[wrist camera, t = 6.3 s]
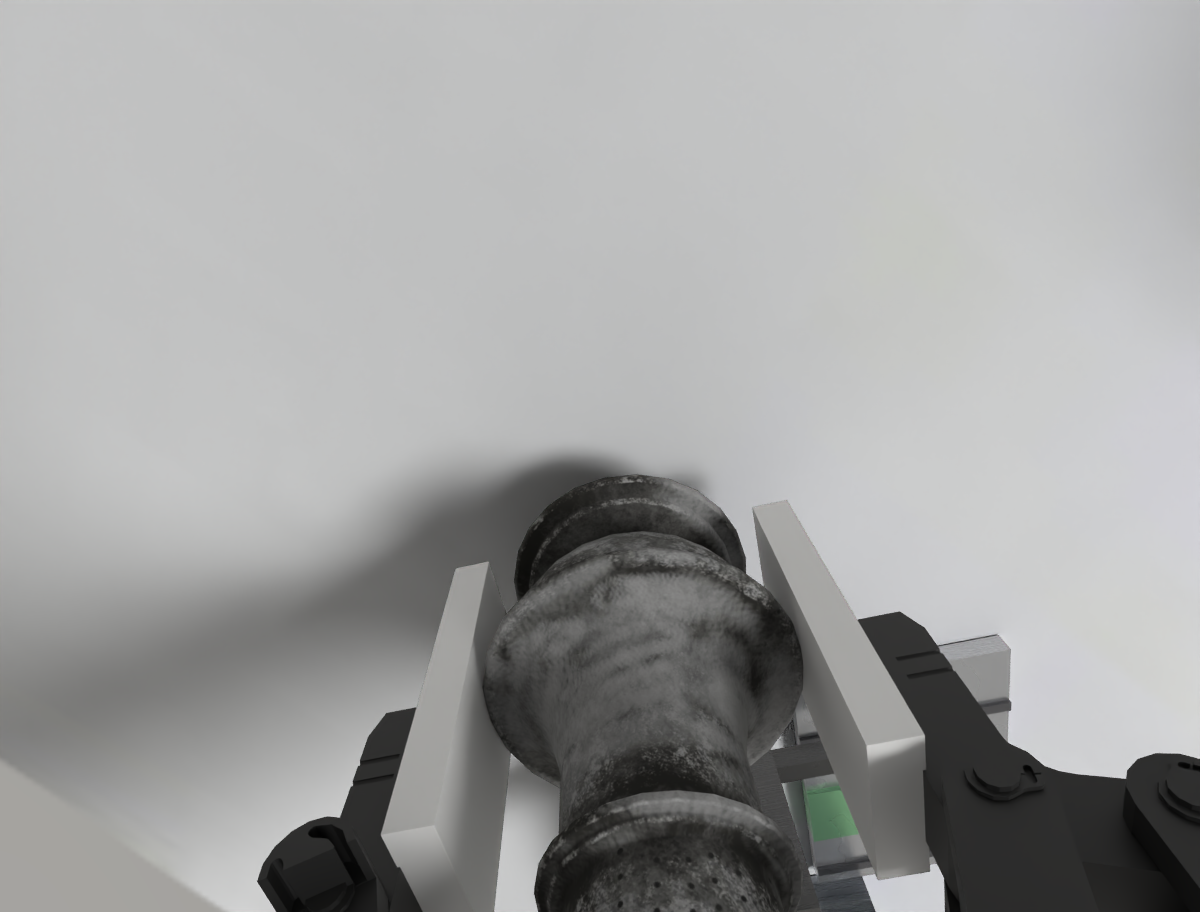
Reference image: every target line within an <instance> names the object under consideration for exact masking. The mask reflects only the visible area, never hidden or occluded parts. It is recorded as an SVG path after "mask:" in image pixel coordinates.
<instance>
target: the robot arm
mask: <svg viewBox="0 0 1200 912" xmlns="http://www.w3.org/2000/svg"><path fill="white" fill-rule="evenodd" d="M752 509H753V516H754V523H755V530H756V536H757V543H758V550H759V557H760V564H761V570H762V577H763V584H764V587H765V588H766V589H767V590H769V591H770V592H771V593H772V595H773V596H774V597H775V599H776V600H777V601H778V603H779V604H780V605H781V607H782V608H783V610H784V611H785V612H786V614H787V615H788V616H789V618H790V619H791V620H792V622H793V625H794V628H795V631H796V634H797V637H798V640H799V644H800V647H801V652H802V658H803V690H802V692H801V693H802V695H803V698H804V700H805V703H806V705H807V707H808V710H809V712H810V715H811V717H812V720H813V722H814V725H815V727H816V730H817V732H818V734H819V737H820V739H821V742H822V744H823V747H824V749H825V752H826V754H827V757H828V759H829V761H830V764H831V766H832V769H833V771H834V774H835V776H836V779H837V781H838V784H839V786H840V788H841V791H842V793H843V796H844V798H845V801H846V803H847V806H848V808H849V811H850V813H851V815H852V818H853V820H854V823H855V825H856V828H857V830H858V833H859V835H860V838H861V840H862V842H863V845H864V847H865V850H866V852H867V855H868V857H869V860H870V862H871V865H872V867H873V869H874V872H875V874H876V877H877V879H878V880H883V879H889V878H895V877H901V876H906V875H912V874H918V873H924V872H930V859H929V849H930V851H931V853H932V855H933V857H934V859H935V861H936V863H937V865H938V867H939V869H940V871H941V873H942V875H943V877H944V890H945V912H1200V759H1197V758H1194V757H1190V756H1186V755H1182V754H1162V753H1155V754H1152V755H1149V756H1146V757H1143V758H1140V759H1137V760H1136V762H1135V763H1134V764H1133V765H1132V766H1131V767H1130V768H1129V769H1128V770H1127V777H1126V779H1121V778H1110V777H1099V776H1089V775H1078V774H1072V773H1067V772H1061V771H1057V770H1054V769H1051V768H1048V767H1045V766H1044V765H1043V764H1041V763H1040V762H1039V761H1038V760H1036V759H1035V758H1034V757H1033V756H1032V755H1030V754H1029V753H1028V752H1026V751H1024V750H1022V749H1020V748H1018V747H1015V746H1013V745H1011V744H1009V743H1008V742H1007V741H1006V740H1005V739H1004V738H1003V737H1002V735H1001V734H1000V733H999V731H998V730H997V728H996V727H995V726H994V724H993V723H992V721H991V720H990V719H989V717H988V716H987V714H986V713H985V712H984V710H983V709H982V707H981V706H980V705H979V703H978V702H977V700H976V699H975V698H974V696H973V695H972V693H971V692H970V691H969V689H968V688H967V686H966V685H965V684H964V682H963V681H962V679H961V678H960V677H959V675H958V674H957V672H956V671H953V668H952V665H951V664H950V663H949V661H948V660H947V658H946V657H945V656H944V654H943V653H941V652H940V649H939V647H938V646H937V645H936V643H935V642H934V640H933V639H932V638H931V636H930V635H929V633H928V632H927V631H926V629H925V628H924V627H923V626H921V625H920V624H918V623H917V622H915V621H913V620H912V619H910V618H909V617H907V616H906V615H904V614H903V613H901V612H895V613H890V614H884V615H879V616H874V617H869V618H864V619H859V620H857V619H856V617H855V615H854V613H853V612H852V610H851V608H850V607H849V605H848V603H847V601H846V600H845V598H844V596H843V595H842V593H841V591H840V590H839V588H838V586H837V584H836V583H835V581H834V579H833V578H832V576H831V574H830V572H829V571H828V569H827V567H826V566H825V564H824V562H823V561H822V559H821V557H820V555H819V554H818V552H817V550H816V549H815V547H814V545H813V543H812V542H811V540H810V538H809V537H808V535H807V533H806V532H805V530H804V528H803V526H802V525H801V523H800V521H799V520H798V518H797V516H796V514H795V513H794V511H793V509H792V508H791V506H790V504H789V503H788V501H787V500H785V501H780V502H775V503H770V504H765V505H760V506H755V507H752ZM505 615H506V611H505V608H504V605H503V602H502V599H501V596H500V593H499V590H498V587H497V584H496V581H495V578H494V575H493V572H492V569H491V566H490V563H489V562H484V563H479V564H474V565H469V566H464V567H460V568H456V569H455V573H454V576H453V580H452V584H451V587H450V591H449V594H448V598H447V601H446V605H445V608H444V612H443V616H442V619H441V623H440V626H439V630H438V633H437V637H436V640H435V644H434V648H433V651H432V655H431V658H430V662H429V665H428V669H427V672H426V676H425V680H424V683H423V687H422V690H421V694H420V697H419V701H418V704H417V707H416V708H411V709H406V710H400V711H395V712H390V713H386V714H385V716H384V717H383V718H382V720H381V721H380V722H379V724H378V725H377V726H376V727H375V729H374V730H373V731H372V733H371V734H370V735H369V737H368V739H367V742H366V745H365V748H364V751H363V754H362V756H361V759H360V766H358V768H357V771H356V774H355V776H354V779H353V786H352V787H351V788H350V791H349V794H348V797H347V799H346V802H345V805H344V808H343V811H342V814H341V817H340V818H337V817H324V818H320V819H316V820H313V821H309V822H308V823H306V824H304V825H302V826H301V827H299V828H297V829H295V830H294V831H292V832H291V833H290V834H288V835H287V836H286V837H285V838H284V839H283V840H282V841H281V842H280V843H279V844H277V845H276V846H275V848H274V849H273V850H272V852H271V853H270V855H269V856H268V858H267V859H266V860H265V862H264V863H263V866H262V869H261V872H260V874H259V877H258V880H257V882H258V884H259V885H260V887H261V888H262V890H263V892H264V893H265V895H266V896H267V898H268V899H269V901H270V902H271V904H272V906H273V907H274V909H275V910H276V912H494V906H495V896H496V887H497V878H498V868H499V859H500V849H501V840H502V831H503V821H504V812H505V803H506V793H507V784H508V774H509V765H510V756H511V752H510V751H509V750H507V749H506V747H505V746H504V744H503V742H502V740H501V739H500V737H499V735H498V734H497V732H496V730H495V728H494V726H493V724H492V722H491V720H490V716H489V713H488V710H487V707H486V702H485V697H484V692H483V688H482V687H483V680H484V672H485V664H486V656H487V650H488V648H489V646H490V644H491V642H492V640H493V638H494V636H495V634H496V632H497V629H498V627H499V625H500V623H501V621H502V619H503V617H504V616H505Z"/></svg>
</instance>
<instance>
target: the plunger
mask: <svg viewBox="0 0 1200 912" xmlns="http://www.w3.org/2000/svg"><path fill="white" fill-rule="evenodd" d="M750 768H751V772H752V775H753V779H754V783H755V786H756V790H757V793H758V797H759V801H760V804H761V808H762V811H763V815H765V816H767V817H768V818H770V819H772V820H773V821H774V822H775V823H776V824H777V825H778V826H779V827H780V828H781V829H782V830H783V832H784V833H785V834H786V835H787V836H788V837H789V838H790V839H791V840H792V842H793V845H794V847H795V850H796V852H797V855H798V857H799V860H800V862H801V865H802V868H803V894H802V896H801V899H800V901H799V904H798V906H797V908H796V911H795V912H821V910H820V905H819V902H818V899H817V896H816V892H815V889H814V886H813V883H812V880H811V877H810V873H809V870H808V867H807V864H806V861H805V857H804V854H803V851H802V848H801V845H800V842H799V838H798V835H797V832H796V829H795V826H794V822H793V819H792V816H791V813H790V810H789V807H788V803H787V800H786V797H785V794H784V791H783V787H782V784H781V783H786V782H791V781H797V780H802V779H808V778H814V777H819V776H825V775H830V774H834V771H833V769H832V766H831V764H830V761H829V759H828V757H827V754H826V752H825V749H824V747H823V744H822V742H821V741H819V742H813V743H808V744H802V745H797V746H791V747H786V748H780V749H775V750H771V749H770V750H769V751H768V752H767V753H766V754H764V755H763V756H762V757H761V758H759V759H758V760H757V761H756V762H755V763H753V764H752V765H751V766H750Z"/></svg>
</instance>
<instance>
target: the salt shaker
mask: <svg viewBox="0 0 1200 912" xmlns="http://www.w3.org/2000/svg"><path fill="white" fill-rule="evenodd" d="M514 583H515V588H516V594H517V600H518V602H517V603H516V604H515V606H514V607H513V608H512V609H511V610H510V611H509V612H508V613H507V614H506V615H505V616H504V617H503V619H502V621H501V623H500V625H499V627H498V629H497V632H496V634H495V636H494V638H493V640H492V642H491V644H490V646H489V648H488V650H487V656H486V664H485V672H484V680H483V687H482V688H483V692H484V697H485V702H486V707H487V710H488V713H489V716H490V720H491V722H492V724H493V726H494V728H495V730H496V732H497V734H498V735H499V737H500V739H501V740H502V742H503V744H504V746H505V747H506V749H507V750H509V751H510V752H511V753H512V754H513V755H514V756H515V757H516V758H517V759H518V760H519V761H520V762H521V763H522V764H523V765H524V766H526V767H527V768H528V769H529V770H530V771H531V772H532V773H534V774H536V775H537V776H539V777H541V778H543V779H545V780H546V781H548V782H550V783H552V784H554V785H555V786H557V787H559V788H560V812H559V835H558V836H557V837H556V838H555V839H553V840H552V842H551V844H550V845H549V847H548V849H547V850H546V852H545V854H544V855H543V857H542V859H541V860H540V862H539V865H538V870H537V876H536V882H535V888H534V895H535V899H536V904H537V908H538V912H795V911H796V908H797V906H798V904H799V901H800V899H801V896H802V894H803V868H802V865H801V862H800V860H799V857H798V855H797V852H796V850H795V847H794V845H793V842H792V840H791V839H790V838H789V837H788V836H787V835H786V834H785V833H784V832H783V830H782V829H781V828H780V827H779V826H778V825H777V824H776V823H775V822H774V821H773V820H772V819H770V818H768V817H767V816H765V815H763V811H762V808H761V804H760V801H759V797H758V793H757V790H756V786H755V783H754V779H753V775H752V772H751V768H750V766H751V765H752V764H753V763H755V762H756V761H757V760H758V759H759V758H761V757H762V756H763V755H764V754H766V753H767V752H768V751H769V750H770V749H771V748H772V746H773V745H774V744H775V742H776V741H777V739H778V738H779V737H780V735H781V734H782V733H783V731H784V730H785V729H786V727H787V726H788V724H789V723H790V722H791V720H792V717H793V715H794V712H795V709H796V706H797V704H798V701H799V698H800V695H801V692H802V690H803V658H802V652H801V647H800V644H799V640H798V637H797V634H796V631H795V628H794V625H793V622H792V620H791V619H790V618H789V616H788V615H787V614H786V612H785V611H784V610H783V608H782V607H781V605H780V604H779V603H778V601H777V600H776V599H775V597H774V596H773V595H772V593H771V592H770V591H769V590H767V589H766V588H765V587H763V586H762V585H761V584H759V583H758V582H756V581H755V580H754V579H752V578H751V577H750V576H748V575H747V574H746V557H745V554H744V551H743V548H742V545H741V542H740V539H739V536H738V533H737V531H736V529H735V528H734V526H733V525H732V524H731V522H730V521H729V520H728V518H727V517H726V515H725V514H724V513H723V511H722V510H721V509H720V508H719V507H718V506H717V505H715V504H714V503H713V502H712V501H710V500H709V499H708V498H706V497H705V496H704V495H702V494H701V493H700V492H698V491H697V490H695V489H692V488H690V487H687V486H685V485H682V484H680V483H677V482H675V481H673V480H670V479H666V478H659V477H651V476H644V475H627V476H617V477H607V478H603V479H600V480H597V481H594V482H591V483H588V484H585V485H583V486H580V487H577V488H574V489H573V490H571V491H570V492H568V493H567V494H565V495H564V496H562V497H561V498H559V499H558V500H556V501H555V502H553V503H552V504H550V505H549V506H548V507H547V508H546V509H545V510H544V511H543V513H542V514H541V515H540V516H539V517H538V518H537V519H536V520H535V522H534V523H533V524H532V525H531V526H530V528H529V530H528V532H527V534H526V536H525V538H524V540H523V542H522V544H521V547H520V549H519V551H518V556H517V563H516V570H515V578H514Z"/></svg>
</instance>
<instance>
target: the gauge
mask: <svg viewBox="0 0 1200 912" xmlns="http://www.w3.org/2000/svg"><path fill="white" fill-rule="evenodd" d="M938 647H939V649H940V652H941V653H943V654H944V656H945V657H946V658H947V660H948V661H949V663H950V664H951V665H952V668H953V671H956V672H957V674H958V675H959V677H960V678H961V679H962V681H963V682H964V684H965V685H966V686H967V688H968V689H969V691H970V692H971V693H972V695H973V696H974V698H975V699H976V700H977V702H978V703H979V705H980V706H981V707H982V709H983V710H984V712H985V713H986V714H987V716H988V717H989V719H990V720H991V721H992V723H993V724H994V726H995V727H996V728H997V730H998V731H999V733H1000V734H1001V735H1002V737H1003V738H1004V739H1005V740H1006V741H1007V742H1008V713H1009V711H1011V702H1010V700H1009V684H1010V655H1011V649H1010V648H1009V647H1008V645H1007V644H1006V643H1005V642H1004V641H1003V640H1002V638H1001V637H1000V636H999V635H997V636H991V637H986V638H981V639H975V640H970V641H965V642H959V643H954V644H949V645H944V646H938ZM793 723H794V730H795V738H796V745H802V744H808V743H813V742H819V741H821V739H820V737H819V734H818V732H817V730H816V727H815V725H814V722H813V720H812V717H811V715H810V712H809V710H808V707H807V705H806V703H805V700H804V698H803V695H802V693H801V695H800V698H799V701H798V704H797V706H796V709H795V712H794V715H793ZM801 781H802V788H803V795H804V803H805V810H806V817H807V824H808V832H809V839H810V846H811V853H812V861H813V867H814V870H815V873H816V876H810V877H811V880H812V883H813V886H814V889H815V892H816V896H817V899H818V902H819V905H820V910H821V912H875V909H874V907H873V904H872V901H871V899H870V896H869V894H868V891H867V888H866V886H865V883H864V881H863V878H862V876H866V875H872V874H875V872H874V869H873V867H872V865H871V862H870V860H869V857H868V855H867V852H866V850H865V847H864V845H863V842H862V840H861V838H860V835H859V833H858V830H857V828H856V825H855V823H854V820H853V818H852V815H851V813H850V811H849V808H848V806H847V803H846V801H845V798H844V796H843V793H842V791H841V788H840V786H839V784H838V781H837V779H836V776H835V774H830V775H825V776H819V777H814V778H808V779H802V780H801ZM929 859H930V865H931V864H937V863H936V861H935V859H934V857H933V855H932V853H931V851H930V849H929Z"/></svg>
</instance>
